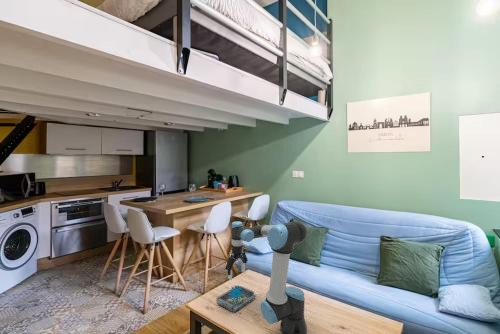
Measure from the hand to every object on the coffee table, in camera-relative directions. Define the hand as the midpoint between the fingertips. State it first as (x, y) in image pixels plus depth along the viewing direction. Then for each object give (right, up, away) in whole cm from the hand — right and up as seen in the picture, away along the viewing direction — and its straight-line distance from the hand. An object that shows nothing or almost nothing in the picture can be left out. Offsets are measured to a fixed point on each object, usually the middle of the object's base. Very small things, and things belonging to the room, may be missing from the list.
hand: (236, 275), depth 170 cm
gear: (0, -17, +1) cm, 17 cm away
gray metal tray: (0, -18, +1) cm, 18 cm away
